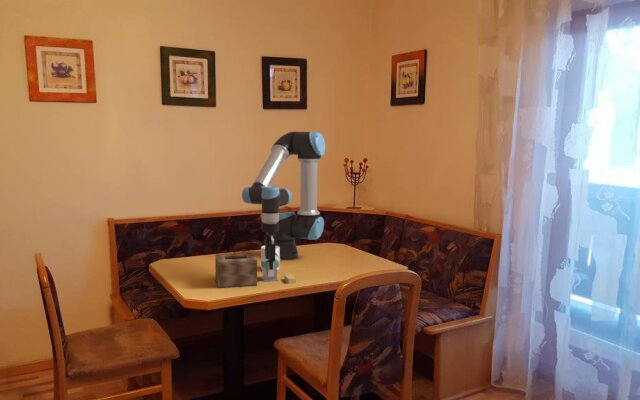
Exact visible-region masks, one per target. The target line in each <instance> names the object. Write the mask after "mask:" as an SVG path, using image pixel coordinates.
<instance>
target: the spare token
mask: <svg viewBox="0 0 640 400" xmlns="http://www.w3.org/2000/svg"><path fill="white" fill-rule="evenodd" d="M283 280H284V281H285V282H286V283H287V284H288V285H291V284H297V277H296V276H295V275H293V274H292V273H289V274H284V275H283Z"/></svg>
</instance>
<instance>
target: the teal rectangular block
mask: <svg viewBox="0 0 640 400" xmlns="http://www.w3.org/2000/svg"><path fill="white" fill-rule="evenodd" d="M267 261H268V260H261V259H260V267H261V266H262V267H268V262H267ZM274 267H279V268H280V266H279V261H278V260H277V259H275V261H274Z"/></svg>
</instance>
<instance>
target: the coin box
mask: <svg viewBox="0 0 640 400" xmlns="http://www.w3.org/2000/svg"><path fill="white" fill-rule="evenodd" d="M214 255H215V258H214V260H215V265H214V266H215V268H214V269H215V282H216V286H217V288H218V289H227V288H230V289H231V288H243V287H244V288H245V287H256V286H257V287H258V258H257V257H256V256H255V255H254V253H253V252H250V253H226V254H214Z"/></svg>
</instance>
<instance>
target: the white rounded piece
mask: <svg viewBox="0 0 640 400" xmlns="http://www.w3.org/2000/svg"><path fill="white" fill-rule="evenodd" d="M279 251H280V247H279V246H275V259H277V260H278V261H279V267H277V271H279V269H280V265H281V259H280V256H279ZM261 260H266V257H265V245H262V246H261V247H260V261H261ZM260 269H261V270H262V271H263V267H262V266H261V265H260Z"/></svg>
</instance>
